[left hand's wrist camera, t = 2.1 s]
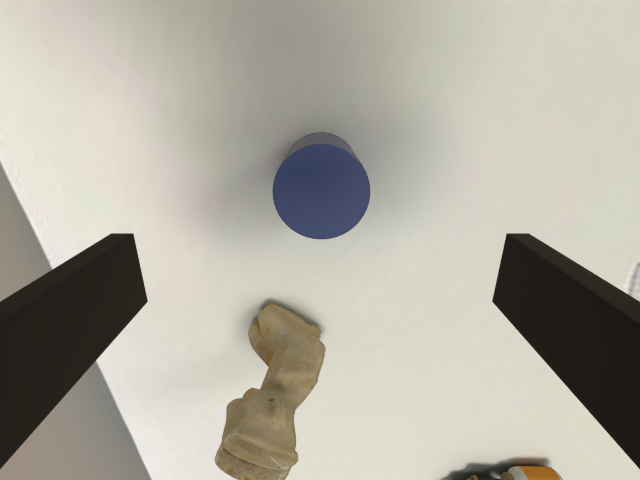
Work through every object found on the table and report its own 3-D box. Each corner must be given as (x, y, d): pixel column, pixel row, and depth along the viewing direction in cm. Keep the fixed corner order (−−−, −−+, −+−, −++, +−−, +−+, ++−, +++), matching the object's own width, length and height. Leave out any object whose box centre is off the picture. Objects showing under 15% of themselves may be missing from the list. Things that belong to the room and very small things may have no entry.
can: (343, 212, 31) (350, 250, 23) (277, 192, 30) (262, 224, 22) (367, 145, 29) (385, 162, 21) (297, 122, 28) (287, 130, 20)
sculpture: (271, 289, 34) (236, 420, 20) (333, 321, 35) (341, 465, 21) (244, 330, 36) (195, 477, 22) (303, 360, 37) (293, 515, 23)
